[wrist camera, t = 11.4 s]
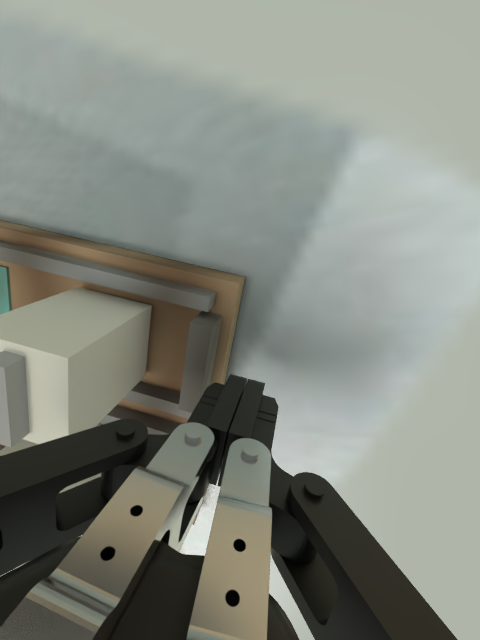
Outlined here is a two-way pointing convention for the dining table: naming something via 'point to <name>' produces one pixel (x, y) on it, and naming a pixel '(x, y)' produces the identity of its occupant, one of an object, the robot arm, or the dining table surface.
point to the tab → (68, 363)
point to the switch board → (145, 287)
